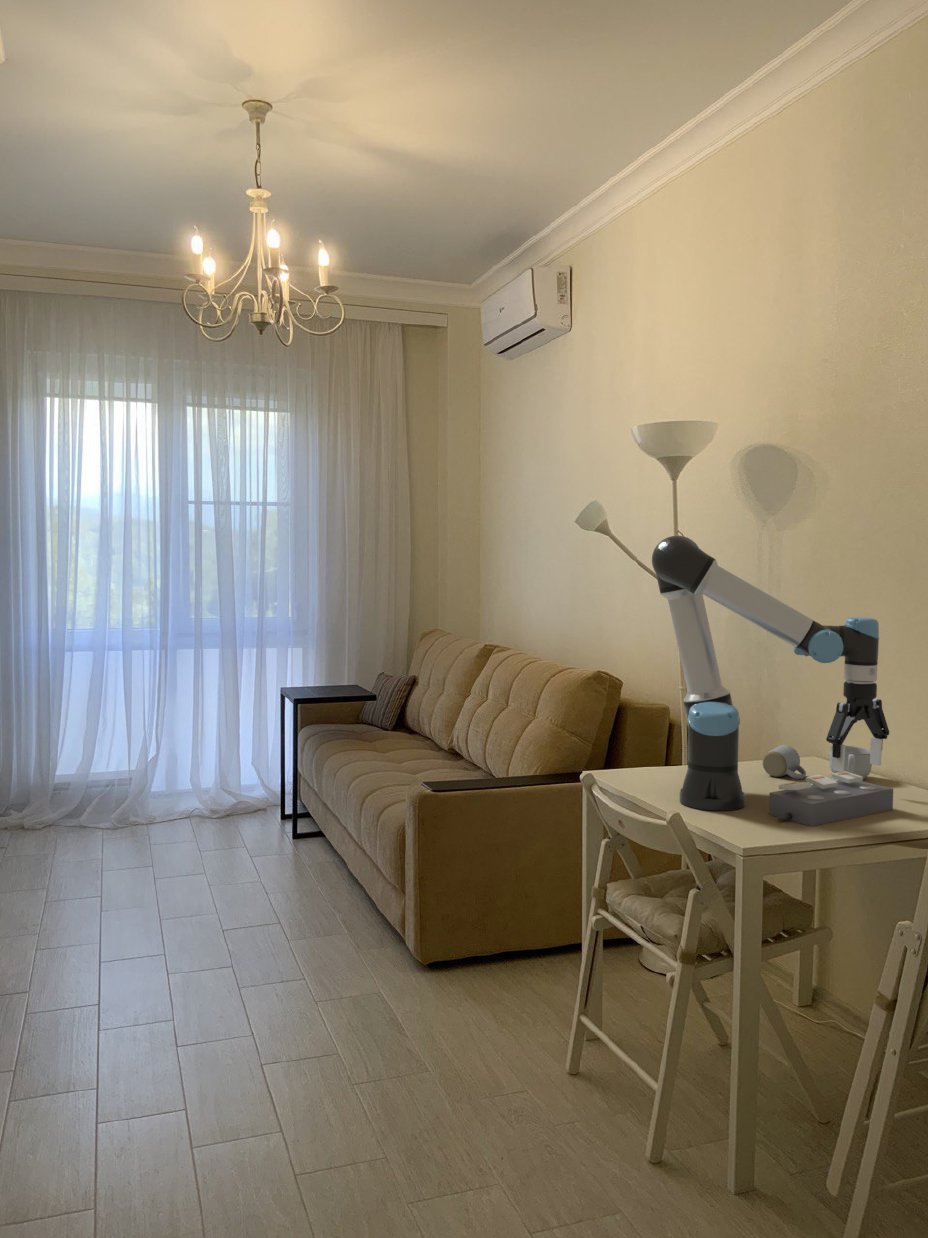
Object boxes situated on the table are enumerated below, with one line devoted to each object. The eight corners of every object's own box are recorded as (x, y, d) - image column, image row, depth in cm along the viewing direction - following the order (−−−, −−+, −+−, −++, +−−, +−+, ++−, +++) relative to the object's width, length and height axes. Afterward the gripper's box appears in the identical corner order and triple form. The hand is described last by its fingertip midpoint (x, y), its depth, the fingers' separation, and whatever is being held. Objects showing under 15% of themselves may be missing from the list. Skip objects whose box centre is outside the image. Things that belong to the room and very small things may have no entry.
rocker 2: (822, 790, 235) (823, 784, 235) (805, 782, 240) (806, 776, 239) (836, 787, 238) (837, 781, 238) (819, 779, 242) (820, 774, 242)
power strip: (799, 828, 222) (800, 805, 222) (757, 816, 232) (758, 793, 232) (892, 809, 239) (893, 787, 238) (849, 798, 249) (850, 777, 249)
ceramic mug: (759, 775, 274) (761, 747, 273) (773, 770, 280) (774, 742, 280) (798, 782, 267) (799, 753, 266) (810, 777, 273) (812, 748, 273)
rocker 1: (796, 791, 231) (795, 785, 231) (779, 790, 235) (778, 784, 235) (811, 788, 233) (810, 782, 233) (794, 788, 237) (793, 781, 237)
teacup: (833, 771, 279) (834, 742, 278) (875, 776, 273) (876, 747, 273) (822, 781, 267) (823, 751, 266) (866, 787, 261) (867, 756, 261)
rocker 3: (848, 784, 240) (849, 778, 240) (831, 778, 244) (831, 773, 244) (862, 782, 243) (863, 776, 242) (844, 776, 247) (845, 770, 247)
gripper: (838, 687, 238) (835, 776, 240) (906, 679, 251) (903, 764, 253) (812, 683, 244) (809, 770, 246) (880, 676, 257) (877, 759, 259)
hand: (857, 768), depth 249 cm, fingers open, 13 cm apart
